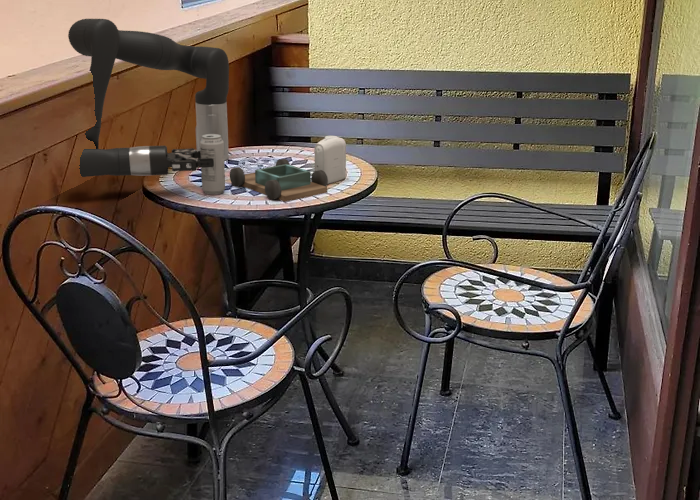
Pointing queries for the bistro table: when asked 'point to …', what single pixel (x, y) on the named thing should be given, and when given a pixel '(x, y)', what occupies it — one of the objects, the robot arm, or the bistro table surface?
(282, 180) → the chassis
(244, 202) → the bistro table surface
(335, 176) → the photo printer
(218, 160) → the energy drink can
